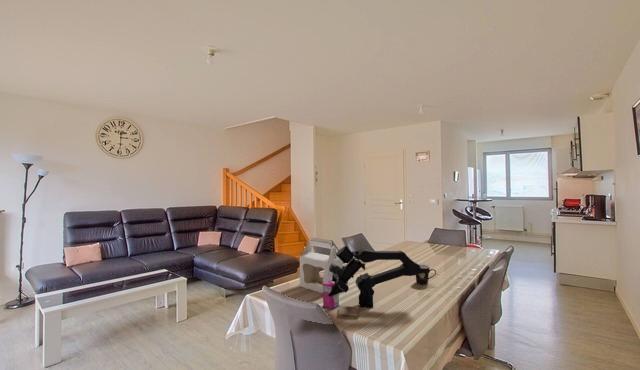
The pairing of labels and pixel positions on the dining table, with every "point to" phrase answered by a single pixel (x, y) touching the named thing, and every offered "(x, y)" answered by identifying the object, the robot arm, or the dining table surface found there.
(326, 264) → the gable box
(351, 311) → the walnut riser
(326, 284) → the supplement box
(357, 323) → the dining table surface
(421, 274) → the coffee mug
